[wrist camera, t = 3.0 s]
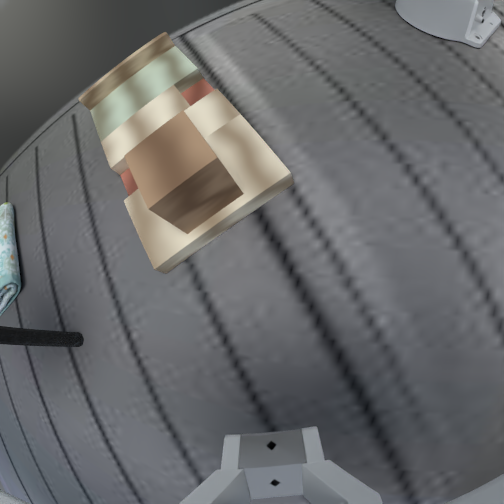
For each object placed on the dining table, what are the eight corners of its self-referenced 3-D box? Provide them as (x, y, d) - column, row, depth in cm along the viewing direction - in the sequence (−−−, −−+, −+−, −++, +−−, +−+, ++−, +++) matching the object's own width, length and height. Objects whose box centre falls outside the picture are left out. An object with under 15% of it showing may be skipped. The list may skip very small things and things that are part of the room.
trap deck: (179, 53, 43) (164, 31, 38) (294, 183, 33) (285, 157, 28) (97, 115, 45) (78, 98, 40) (166, 273, 34) (138, 263, 29)
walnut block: (212, 149, 34) (183, 110, 27) (243, 193, 31) (217, 157, 24) (161, 186, 34) (123, 155, 27) (187, 234, 32) (148, 209, 25)
